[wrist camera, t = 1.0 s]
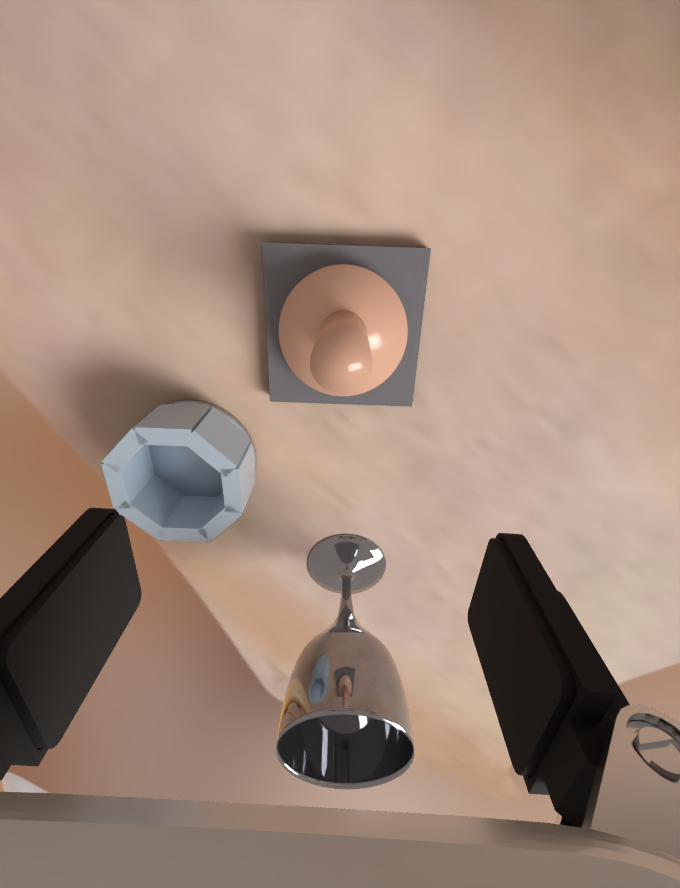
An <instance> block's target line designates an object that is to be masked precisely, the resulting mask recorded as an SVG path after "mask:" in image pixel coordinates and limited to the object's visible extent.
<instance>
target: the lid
mask: <svg viewBox="0 0 680 888" xmlns="http://www.w3.org/2000/svg"><path fill="white" fill-rule="evenodd" d="M407 336H408V326H407V318H406V314H405V310H404V307H403V305H402V302H401V301H400V299H399V297H398V295H397V294H396V292H395V291H394V289H393V288H392V287H391V286H390V285H389V284H388V283H387V282H386V281H385V280H384V279H383V278H382V277H380V276H379V275H378V274H376V273H374V272H373V271H371V270H369V269H366V268H364V267H361V266H357V265H351V264H335V265H330V266H326V267H323V268H320V269H318V270H316V271H314V272H312V273H311V274H309V275H308V276H306V277H305V278H304V279H303V280H302V281H300V282H299V283H298V284H297V285H296V286H295V288H294V289H293V290H292V291H291V293H290V294H289V296H288V298H287V299H286V301H285V304H284V306H283V308H282V312H281V315H280V321H279V341H280V346H281V350H282V353H283V355H284V358H285V360H286V362H287V364H288V365H289V367H290V368H291V370H292V371H293V372H294V374H295V375H296V376H297V377H298V378H299V379H300V380H301V381H303V382H304V383H305V384H306V385H308V386H309V387H311V388H313V389H315V390H317V391H319V392H322V393H325V394H329V395H333V396H353V395H358V394H362V393H365V392H367V391H370V390H372V389H374V388H375V387H377V386H379V385H380V384H381V383H383V382H384V381H385V380H386V379H387V378H388V377H389V376H390V375H391V374H392V373H393V372H394V370H395V369H396V368H397V366H398V364H399V363H400V361H401V359H402V356H403V354H404V351H405V348H406V343H407Z"/></svg>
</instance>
